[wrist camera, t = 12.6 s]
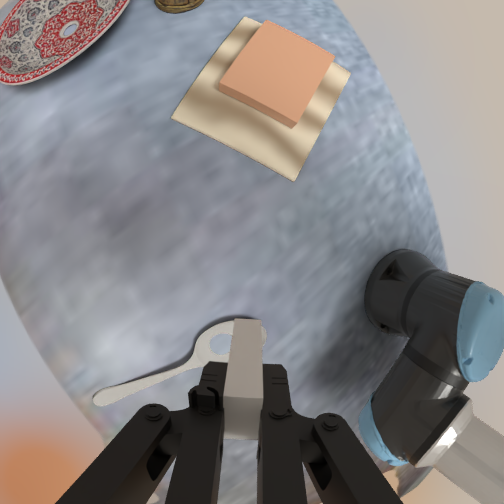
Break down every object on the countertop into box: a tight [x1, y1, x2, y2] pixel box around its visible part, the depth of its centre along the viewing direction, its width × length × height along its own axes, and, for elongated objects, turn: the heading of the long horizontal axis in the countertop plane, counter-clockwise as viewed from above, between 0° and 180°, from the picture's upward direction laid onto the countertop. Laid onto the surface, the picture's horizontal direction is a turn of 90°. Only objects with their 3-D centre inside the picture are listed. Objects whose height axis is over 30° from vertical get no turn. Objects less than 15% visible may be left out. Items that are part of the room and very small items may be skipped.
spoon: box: [93, 320, 267, 406], centre depth 43 cm, size 35×8×3 cm, turn 118°
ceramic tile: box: [219, 20, 335, 129], centre depth 36 cm, size 3×12×14 cm
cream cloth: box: [171, 17, 351, 182], centre depth 38 cm, size 22×20×1 cm
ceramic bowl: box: [0, 0, 130, 85], centre depth 27 cm, size 29×29×8 cm
